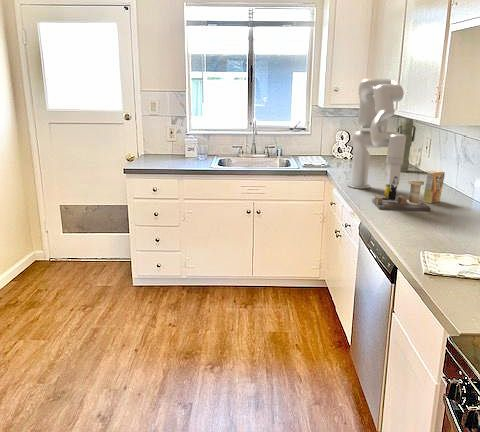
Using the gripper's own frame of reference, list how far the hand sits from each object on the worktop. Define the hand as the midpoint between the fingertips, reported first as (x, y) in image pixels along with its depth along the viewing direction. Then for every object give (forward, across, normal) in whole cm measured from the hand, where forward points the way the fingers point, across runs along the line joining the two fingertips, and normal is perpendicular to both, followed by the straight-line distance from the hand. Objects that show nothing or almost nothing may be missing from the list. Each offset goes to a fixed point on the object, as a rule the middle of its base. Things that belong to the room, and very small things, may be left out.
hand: (389, 197), depth 221 cm
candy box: (+5, -11, +24) cm, 27 cm away
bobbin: (+3, 0, +12) cm, 12 cm away
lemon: (+2, 0, 0) cm, 2 cm away
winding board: (+4, 0, +6) cm, 7 cm away
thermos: (+5, -91, +32) cm, 97 cm away
